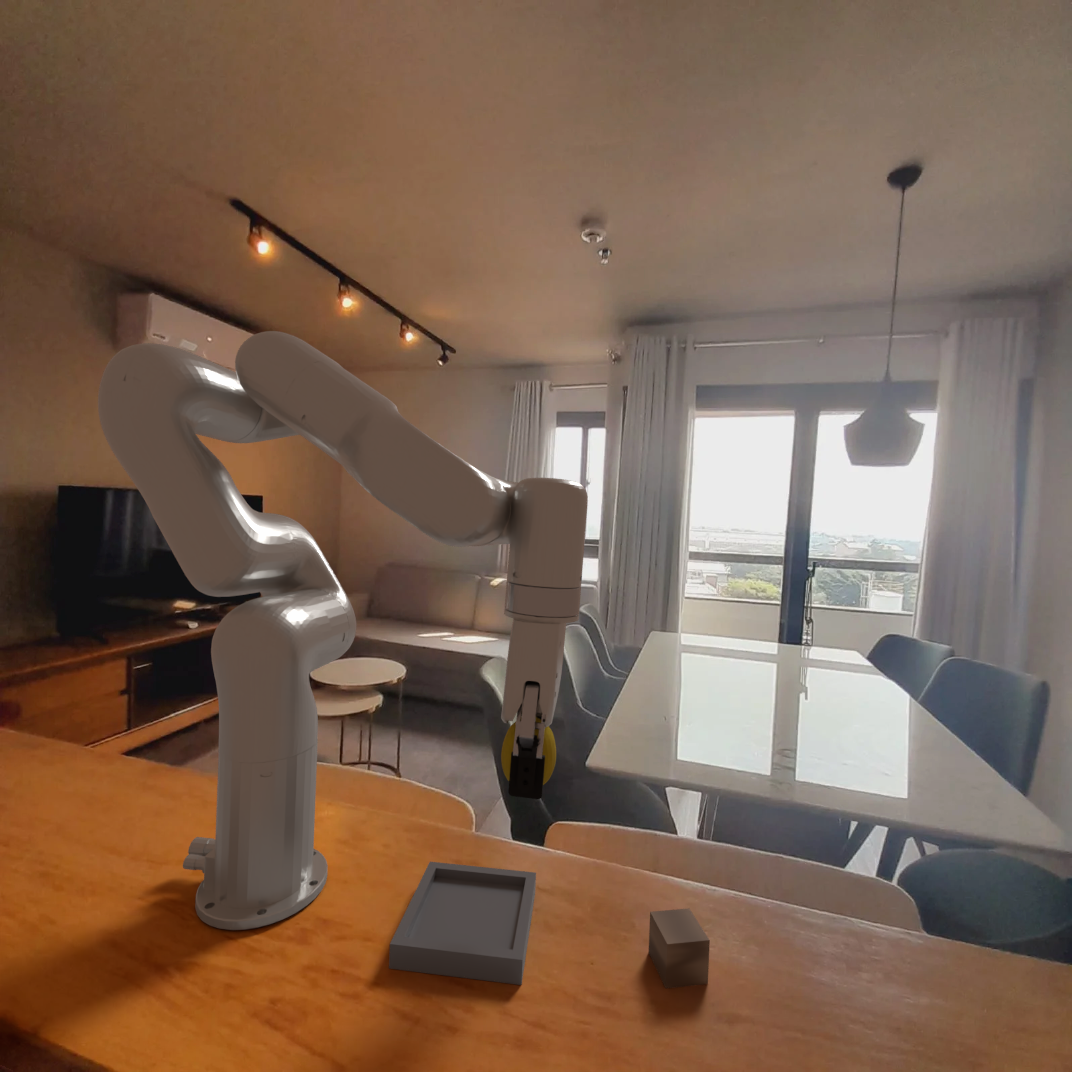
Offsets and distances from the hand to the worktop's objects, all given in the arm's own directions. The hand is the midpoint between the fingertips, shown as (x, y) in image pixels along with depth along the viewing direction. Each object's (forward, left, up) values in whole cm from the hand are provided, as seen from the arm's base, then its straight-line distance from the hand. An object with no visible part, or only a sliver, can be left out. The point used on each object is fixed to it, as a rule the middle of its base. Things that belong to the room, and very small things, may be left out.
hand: (528, 778), depth 53 cm
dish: (-5, -1, -15) cm, 16 cm away
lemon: (0, 0, -2) cm, 2 cm away
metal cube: (+15, -3, -15) cm, 21 cm away
